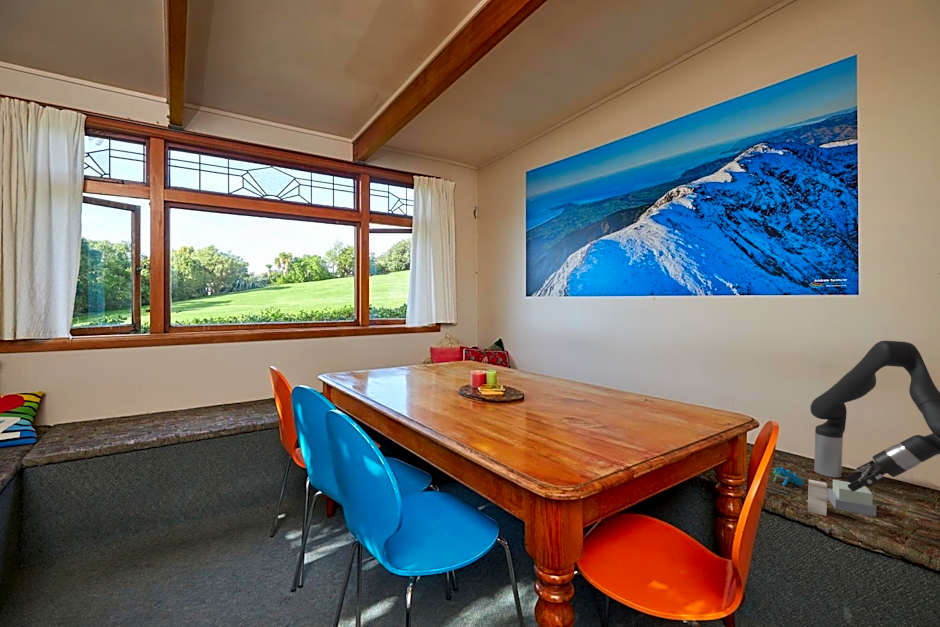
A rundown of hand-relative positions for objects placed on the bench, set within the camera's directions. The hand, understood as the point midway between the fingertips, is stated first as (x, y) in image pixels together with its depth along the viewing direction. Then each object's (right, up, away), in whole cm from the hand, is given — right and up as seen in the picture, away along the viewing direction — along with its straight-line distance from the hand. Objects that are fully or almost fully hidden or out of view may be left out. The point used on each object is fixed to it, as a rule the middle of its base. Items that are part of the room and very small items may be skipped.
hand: (848, 484), depth 145 cm
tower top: (+9, -8, +9) cm, 15 cm away
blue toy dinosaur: (-1, -12, +27) cm, 30 cm away
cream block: (-7, -12, +5) cm, 14 cm away
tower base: (+9, -12, +9) cm, 18 cm away
